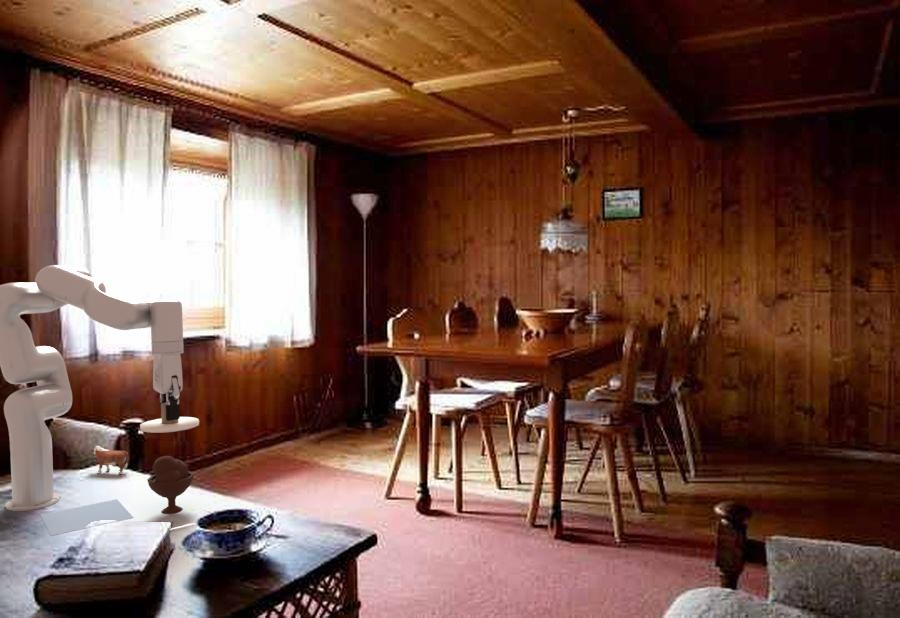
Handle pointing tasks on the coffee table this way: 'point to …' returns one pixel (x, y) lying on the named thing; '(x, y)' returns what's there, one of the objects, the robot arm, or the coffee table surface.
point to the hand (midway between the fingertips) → (170, 417)
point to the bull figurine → (110, 458)
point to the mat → (84, 516)
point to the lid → (168, 423)
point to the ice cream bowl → (170, 481)
